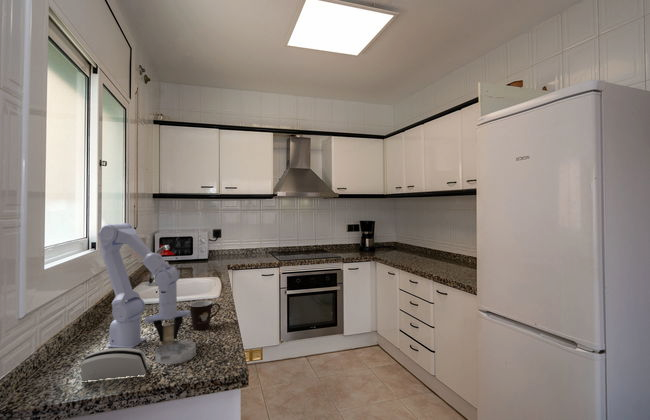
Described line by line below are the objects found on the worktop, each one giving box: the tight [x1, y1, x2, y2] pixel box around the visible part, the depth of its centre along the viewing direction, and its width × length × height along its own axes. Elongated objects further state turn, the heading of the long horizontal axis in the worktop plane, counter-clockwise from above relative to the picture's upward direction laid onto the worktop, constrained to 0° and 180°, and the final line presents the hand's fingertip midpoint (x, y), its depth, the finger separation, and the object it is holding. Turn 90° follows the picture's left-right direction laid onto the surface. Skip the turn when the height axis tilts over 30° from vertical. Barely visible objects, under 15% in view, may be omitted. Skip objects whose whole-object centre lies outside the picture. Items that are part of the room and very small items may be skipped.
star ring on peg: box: [155, 339, 197, 365], centre depth 108 cm, size 12×12×3 cm
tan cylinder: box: [161, 323, 175, 345], centre depth 117 cm, size 4×4×7 cm
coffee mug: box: [189, 300, 221, 332], centre depth 135 cm, size 12×9×10 cm
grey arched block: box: [80, 347, 150, 382], centre depth 95 cm, size 17×5×10 cm, turn 101°
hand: (168, 339), depth 117 cm, fingers closed on tan cylinder, 4 cm apart
